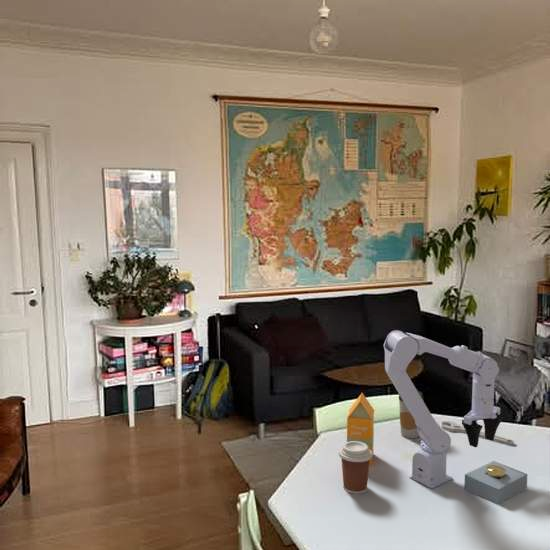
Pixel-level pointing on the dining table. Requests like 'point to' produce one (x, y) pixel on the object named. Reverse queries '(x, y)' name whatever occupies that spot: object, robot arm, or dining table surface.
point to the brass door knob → (495, 471)
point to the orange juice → (361, 423)
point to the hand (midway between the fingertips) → (481, 442)
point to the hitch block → (495, 483)
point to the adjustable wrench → (457, 428)
